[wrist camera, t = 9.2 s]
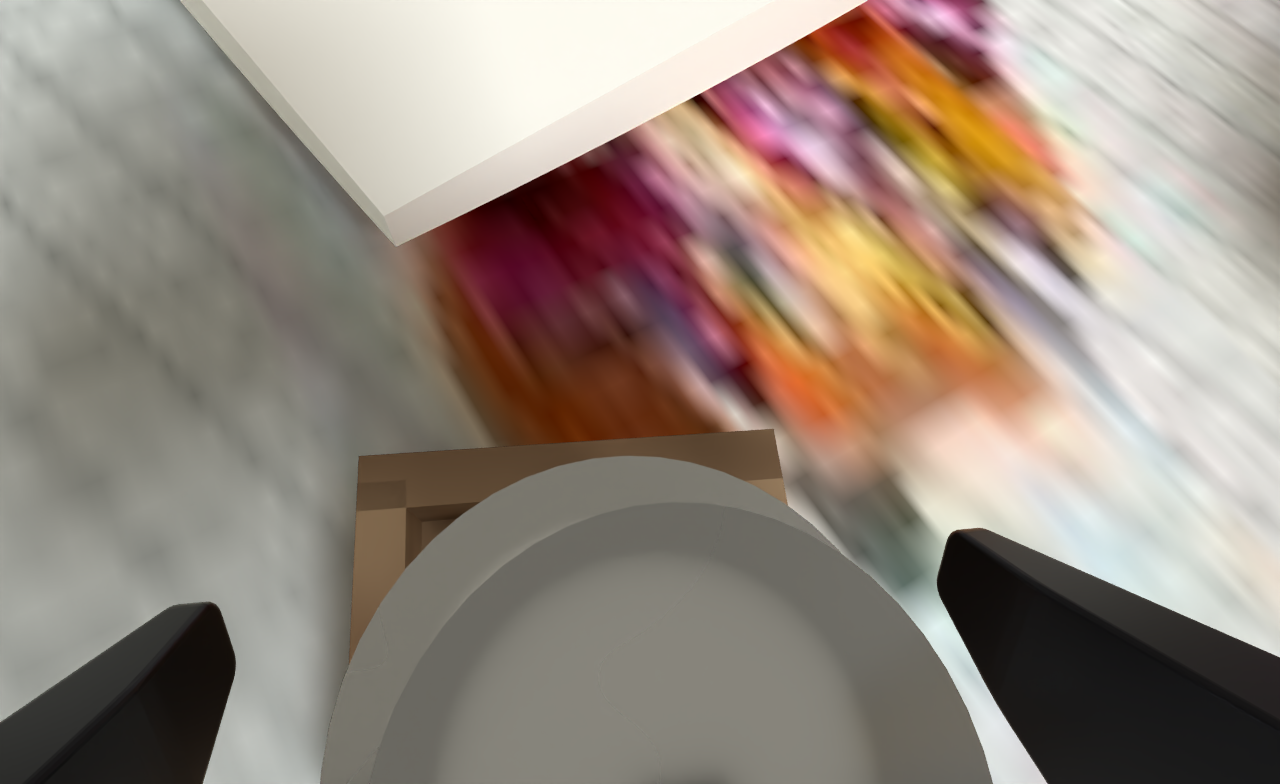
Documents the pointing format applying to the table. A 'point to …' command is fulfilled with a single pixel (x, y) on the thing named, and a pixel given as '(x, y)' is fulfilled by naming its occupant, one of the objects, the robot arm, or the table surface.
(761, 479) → the tray
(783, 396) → the table surface
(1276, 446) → the table surface
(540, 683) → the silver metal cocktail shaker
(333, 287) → the table surface
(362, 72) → the board
